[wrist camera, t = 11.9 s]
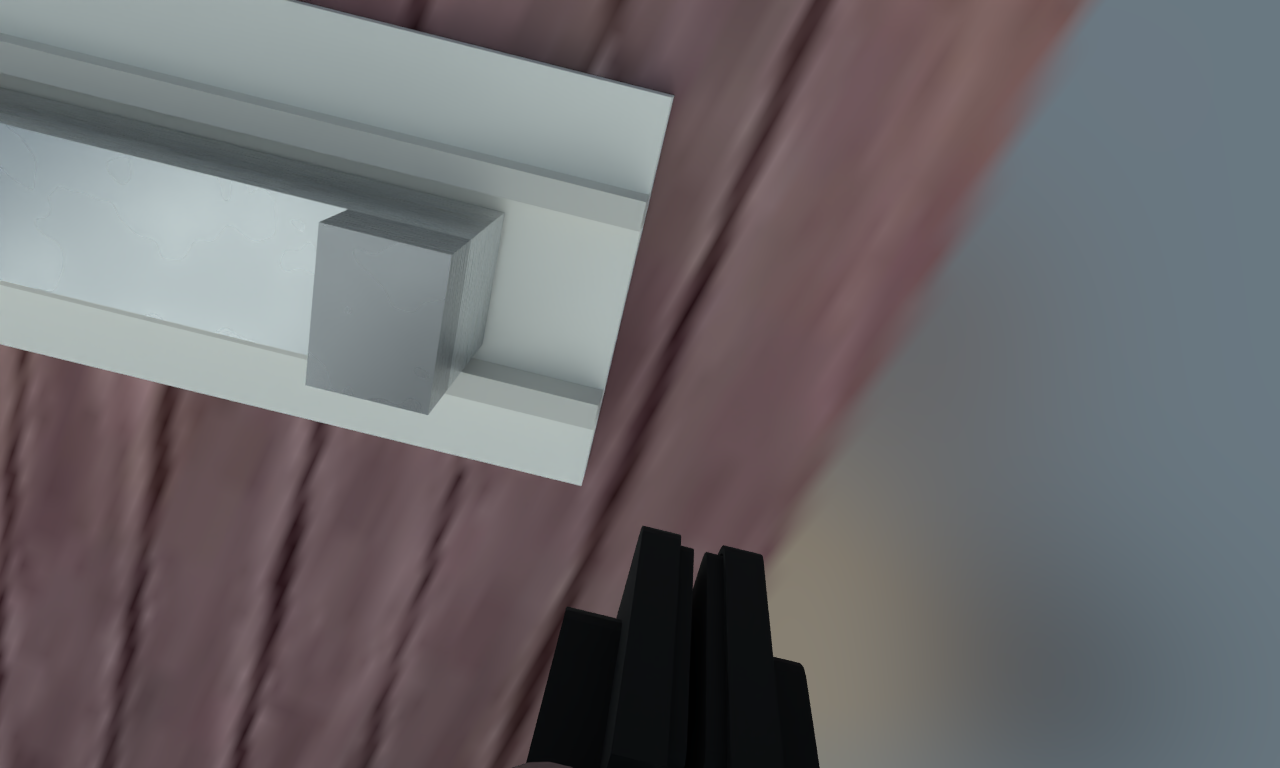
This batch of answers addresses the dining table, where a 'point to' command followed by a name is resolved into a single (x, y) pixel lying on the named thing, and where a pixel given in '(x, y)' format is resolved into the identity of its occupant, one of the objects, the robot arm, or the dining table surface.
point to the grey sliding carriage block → (247, 247)
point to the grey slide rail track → (384, 151)
